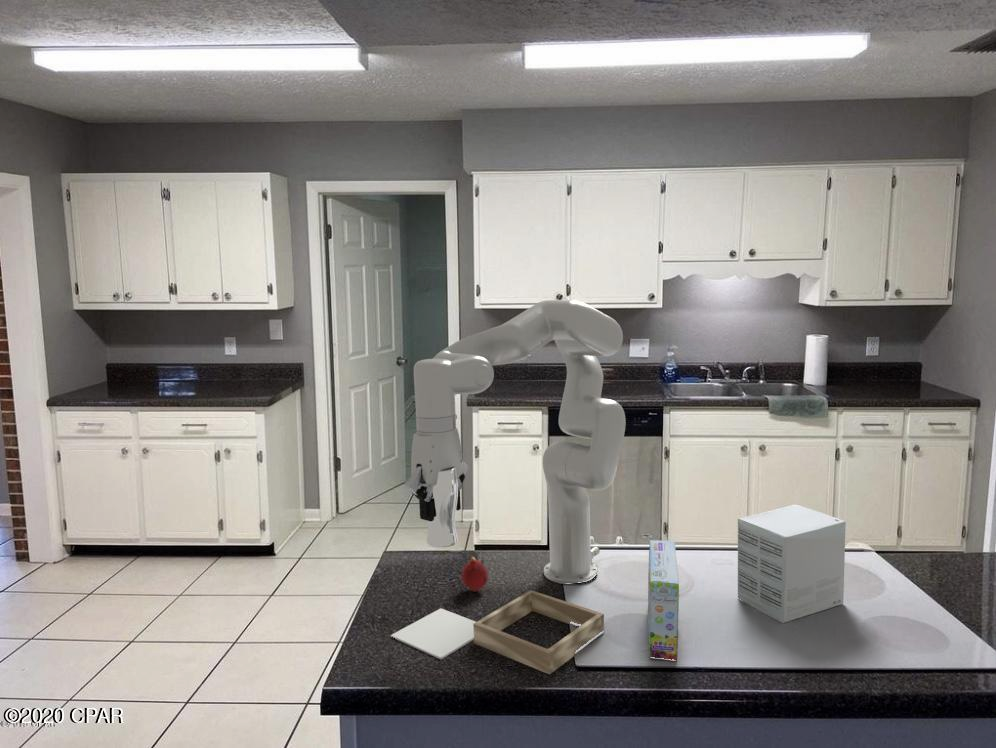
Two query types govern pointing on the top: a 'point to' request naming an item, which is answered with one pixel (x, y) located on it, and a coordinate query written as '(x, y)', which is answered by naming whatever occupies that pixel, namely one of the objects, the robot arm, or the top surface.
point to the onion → (474, 575)
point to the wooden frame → (529, 653)
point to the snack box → (663, 600)
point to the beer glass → (444, 510)
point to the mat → (438, 633)
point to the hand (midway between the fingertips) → (440, 513)
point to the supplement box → (791, 562)
